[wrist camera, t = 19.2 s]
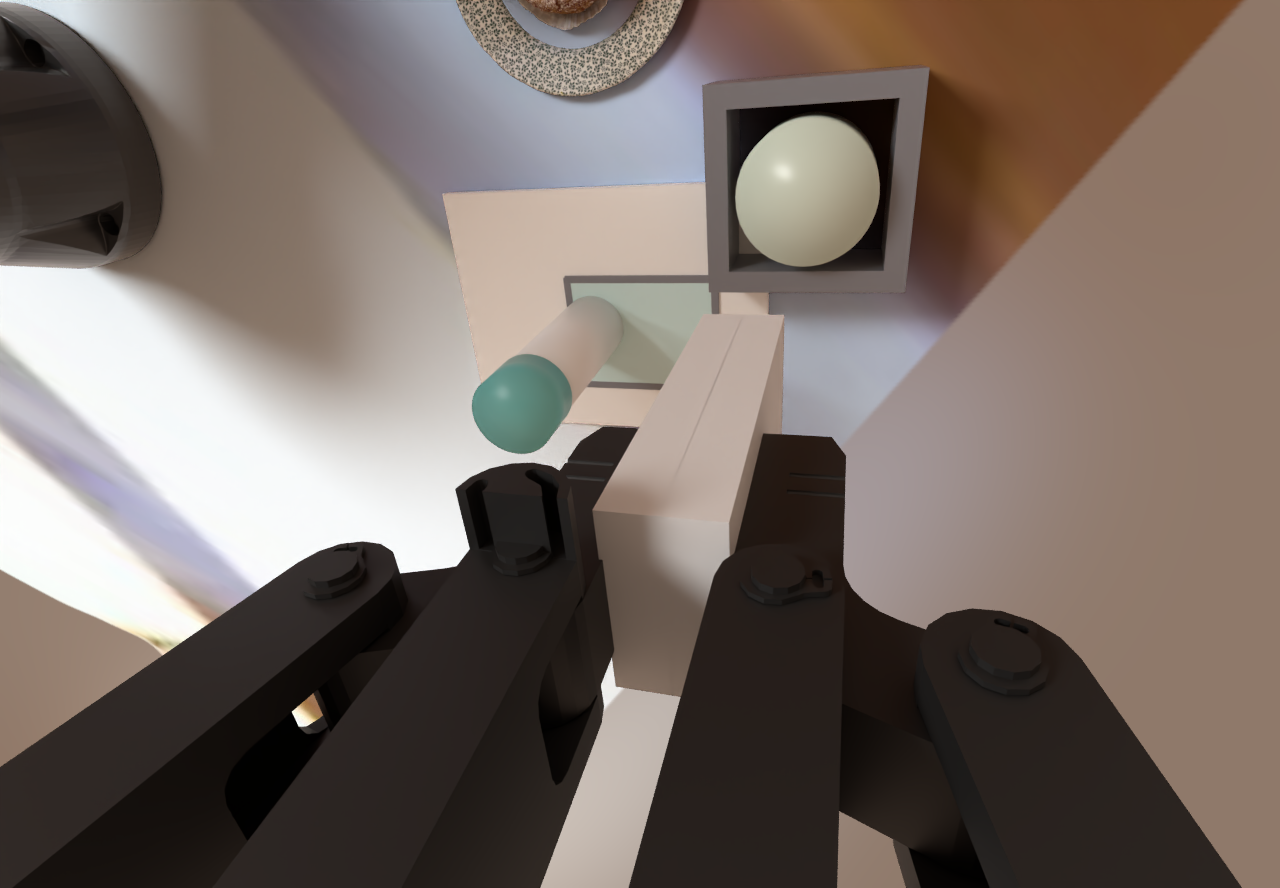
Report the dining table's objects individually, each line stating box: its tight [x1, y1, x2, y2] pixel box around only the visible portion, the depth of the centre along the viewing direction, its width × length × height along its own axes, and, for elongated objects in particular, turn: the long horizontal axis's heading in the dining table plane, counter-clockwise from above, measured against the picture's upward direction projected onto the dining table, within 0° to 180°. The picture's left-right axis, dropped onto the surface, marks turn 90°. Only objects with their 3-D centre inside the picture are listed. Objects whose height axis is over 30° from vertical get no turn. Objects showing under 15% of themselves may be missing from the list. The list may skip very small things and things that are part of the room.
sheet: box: [442, 182, 769, 427], centre depth 40 cm, size 18×14×1 cm
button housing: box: [702, 65, 930, 293], centre depth 32 cm, size 9×9×4 cm
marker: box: [472, 296, 624, 454], centre depth 35 cm, size 4×4×12 cm
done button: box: [735, 111, 880, 267], centre depth 31 cm, size 6×6×4 cm
